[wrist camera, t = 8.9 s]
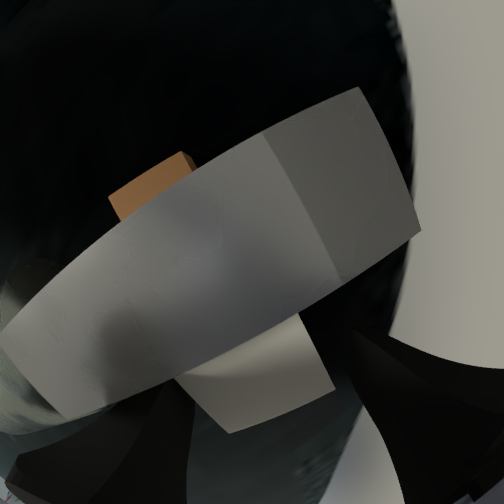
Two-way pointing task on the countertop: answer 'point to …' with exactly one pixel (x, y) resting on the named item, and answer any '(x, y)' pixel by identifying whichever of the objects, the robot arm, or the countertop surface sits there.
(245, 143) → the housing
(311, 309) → the countertop surface
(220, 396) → the plug
